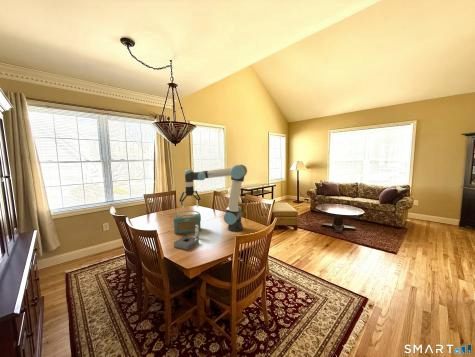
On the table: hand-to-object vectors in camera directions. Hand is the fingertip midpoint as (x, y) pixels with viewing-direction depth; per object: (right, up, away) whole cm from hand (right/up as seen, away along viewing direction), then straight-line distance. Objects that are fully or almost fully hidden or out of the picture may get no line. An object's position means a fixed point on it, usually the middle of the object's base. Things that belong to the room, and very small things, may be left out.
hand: (190, 207), depth 193 cm
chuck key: (+10, -25, -16) cm, 31 cm away
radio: (-3, -23, +2) cm, 23 cm away
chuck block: (+4, -26, -30) cm, 40 cm away
